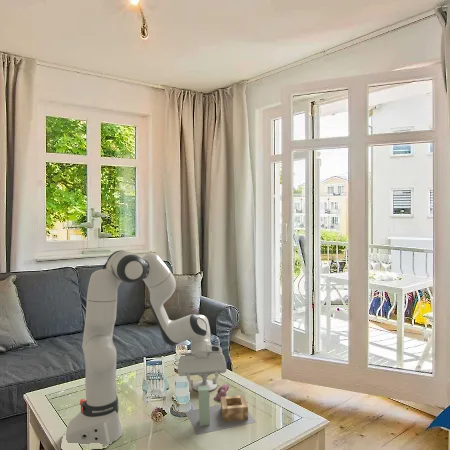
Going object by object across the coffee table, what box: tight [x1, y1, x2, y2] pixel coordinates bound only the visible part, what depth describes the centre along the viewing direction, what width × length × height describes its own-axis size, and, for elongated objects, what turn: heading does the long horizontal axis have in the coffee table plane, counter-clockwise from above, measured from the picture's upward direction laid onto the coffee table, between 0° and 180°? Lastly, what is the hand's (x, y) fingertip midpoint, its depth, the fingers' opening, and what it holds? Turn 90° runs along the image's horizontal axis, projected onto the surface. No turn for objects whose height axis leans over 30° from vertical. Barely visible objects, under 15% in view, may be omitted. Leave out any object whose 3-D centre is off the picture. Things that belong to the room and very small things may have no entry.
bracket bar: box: [197, 385, 210, 426], centre depth 160 cm, size 4×4×14 cm
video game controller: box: [213, 383, 230, 401], centre depth 183 cm, size 10×5×7 cm, turn 169°
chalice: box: [191, 374, 218, 392], centre depth 194 cm, size 14×14×15 cm
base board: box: [186, 404, 257, 436], centre depth 164 cm, size 24×18×2 cm
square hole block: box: [220, 394, 249, 421], centre depth 166 cm, size 10×10×5 cm
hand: (203, 384), depth 165 cm, fingers open, 8 cm apart
